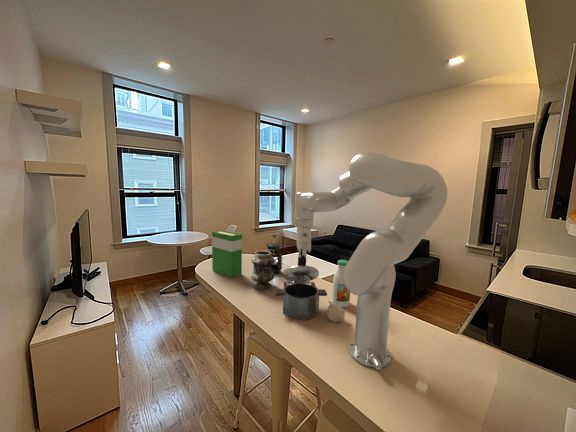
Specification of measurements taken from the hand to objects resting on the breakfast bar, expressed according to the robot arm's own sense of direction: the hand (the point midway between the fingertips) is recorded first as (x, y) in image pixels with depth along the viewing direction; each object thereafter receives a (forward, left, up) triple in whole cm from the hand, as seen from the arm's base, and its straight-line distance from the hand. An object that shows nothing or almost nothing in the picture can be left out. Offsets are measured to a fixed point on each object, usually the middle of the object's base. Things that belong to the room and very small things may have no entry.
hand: (301, 266), depth 99 cm
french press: (+46, +11, -20) cm, 52 cm away
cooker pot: (0, 0, -19) cm, 19 cm away
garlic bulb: (-8, -13, -20) cm, 25 cm away
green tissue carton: (+45, +39, -20) cm, 63 cm away
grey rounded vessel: (+25, +17, -20) cm, 36 cm away
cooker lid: (+3, 0, -5) cm, 6 cm away
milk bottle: (+6, -19, -20) cm, 28 cm away
